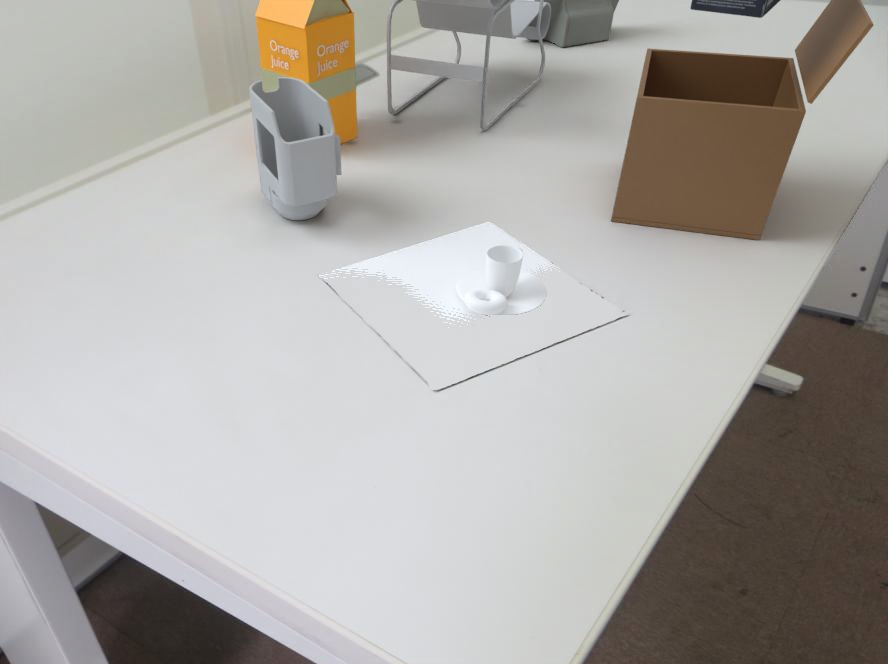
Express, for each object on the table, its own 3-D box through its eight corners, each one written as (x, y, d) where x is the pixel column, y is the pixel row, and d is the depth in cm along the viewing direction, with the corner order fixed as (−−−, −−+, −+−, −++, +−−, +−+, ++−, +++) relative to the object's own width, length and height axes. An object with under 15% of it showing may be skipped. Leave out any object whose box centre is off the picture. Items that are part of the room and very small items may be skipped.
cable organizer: (289, 237, 77) (278, 120, 69) (252, 189, 86) (238, 80, 78) (349, 223, 79) (345, 107, 71) (307, 177, 88) (299, 69, 80)
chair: (385, 120, 100) (384, -50, 87) (460, 64, 116) (469, -87, 103) (479, 137, 95) (494, -42, 82) (545, 75, 111) (566, -82, 98)
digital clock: (607, 26, 129) (620, -45, 122) (631, 41, 122) (646, -33, 115) (515, 34, 127) (523, -38, 120) (534, 50, 120) (543, -25, 113)
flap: (794, 50, 76) (798, 51, 76) (807, 102, 65) (811, 104, 65) (846, -22, 71) (850, -20, 71) (869, 22, 60) (874, 24, 60)
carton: (753, 176, 84) (793, 57, 76) (759, 240, 74) (806, 111, 66) (623, 162, 88) (647, 48, 80) (610, 221, 78) (637, 97, 69)
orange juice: (311, 120, 101) (300, -52, 88) (358, 137, 96) (353, -43, 83) (266, 137, 97) (247, -40, 84) (313, 156, 92) (300, -29, 79)
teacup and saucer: (484, 332, 64) (488, 291, 61) (431, 289, 69) (433, 249, 66) (565, 302, 67) (572, 261, 64) (508, 262, 72) (513, 223, 69)
